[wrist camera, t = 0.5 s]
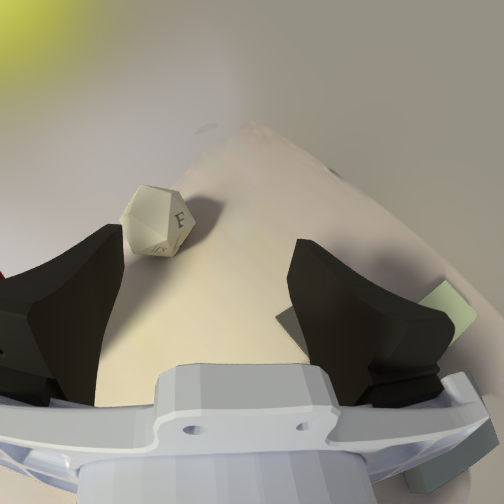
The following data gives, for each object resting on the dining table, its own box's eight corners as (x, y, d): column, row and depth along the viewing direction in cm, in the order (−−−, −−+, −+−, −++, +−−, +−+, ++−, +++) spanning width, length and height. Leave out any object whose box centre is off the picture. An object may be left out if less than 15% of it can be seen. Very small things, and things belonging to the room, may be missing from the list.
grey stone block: (143, 284, 35) (171, 235, 29) (101, 232, 35) (120, 177, 29) (185, 255, 41) (219, 209, 35) (146, 211, 42) (172, 160, 36)
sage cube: (455, 339, 26) (478, 315, 22) (426, 367, 25) (449, 346, 21) (427, 306, 29) (445, 279, 25) (397, 331, 28) (414, 305, 24)
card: (373, 328, 28) (374, 326, 28) (319, 370, 26) (320, 369, 26) (328, 283, 32) (329, 280, 32) (275, 318, 30) (275, 315, 30)
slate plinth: (476, 450, 18) (499, 443, 15) (408, 492, 17) (428, 493, 14) (449, 385, 23) (469, 371, 20) (382, 419, 22) (398, 410, 19)
